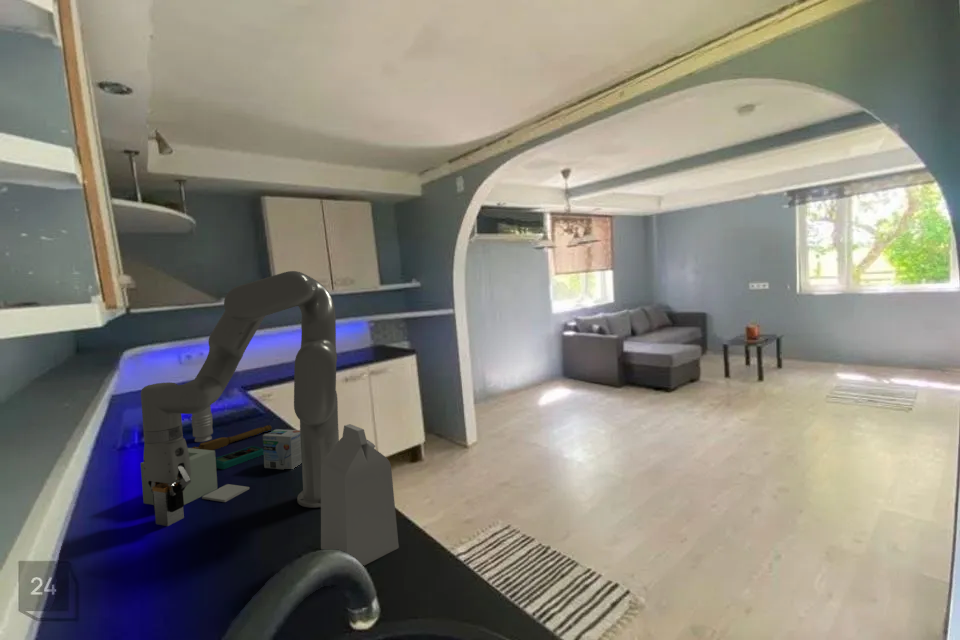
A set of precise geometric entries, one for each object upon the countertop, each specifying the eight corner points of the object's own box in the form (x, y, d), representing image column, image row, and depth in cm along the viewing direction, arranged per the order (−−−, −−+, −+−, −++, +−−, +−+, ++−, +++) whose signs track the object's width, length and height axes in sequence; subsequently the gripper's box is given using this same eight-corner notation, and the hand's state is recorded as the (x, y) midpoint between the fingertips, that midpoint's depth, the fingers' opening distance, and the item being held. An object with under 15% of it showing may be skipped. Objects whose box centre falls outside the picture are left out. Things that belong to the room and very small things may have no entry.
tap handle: (272, 425, 175) (192, 448, 149) (272, 432, 175) (193, 456, 150) (267, 424, 177) (188, 447, 151) (267, 431, 177) (188, 455, 151)
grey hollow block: (217, 488, 123) (215, 450, 122) (176, 508, 111) (173, 467, 111) (186, 484, 126) (183, 447, 126) (143, 503, 115) (140, 462, 114)
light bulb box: (263, 468, 137) (261, 435, 136) (278, 460, 143) (276, 428, 143) (292, 470, 134) (290, 436, 134) (306, 462, 141) (304, 429, 140)
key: (184, 517, 107) (182, 481, 106) (167, 526, 103) (164, 488, 102) (172, 515, 108) (169, 479, 107) (155, 524, 104) (152, 486, 103)
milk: (320, 548, 91) (314, 428, 90) (369, 527, 99) (364, 416, 98) (348, 573, 83) (341, 440, 81) (398, 547, 91) (393, 426, 89)
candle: (217, 438, 169) (214, 400, 168) (198, 443, 163) (195, 404, 162) (208, 435, 173) (205, 398, 172) (189, 440, 167) (186, 402, 166)
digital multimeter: (266, 455, 149) (266, 447, 149) (222, 471, 136) (222, 462, 136) (253, 452, 153) (253, 444, 153) (210, 467, 140) (209, 458, 140)
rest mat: (249, 489, 122) (249, 486, 122) (224, 502, 114) (224, 499, 114) (227, 486, 124) (227, 484, 124) (202, 498, 117) (202, 496, 117)
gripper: (204, 432, 105) (209, 505, 106) (154, 427, 110) (159, 497, 111) (173, 442, 98) (179, 520, 99) (122, 437, 103) (128, 511, 104)
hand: (169, 507), depth 105 cm, fingers open, 4 cm apart
